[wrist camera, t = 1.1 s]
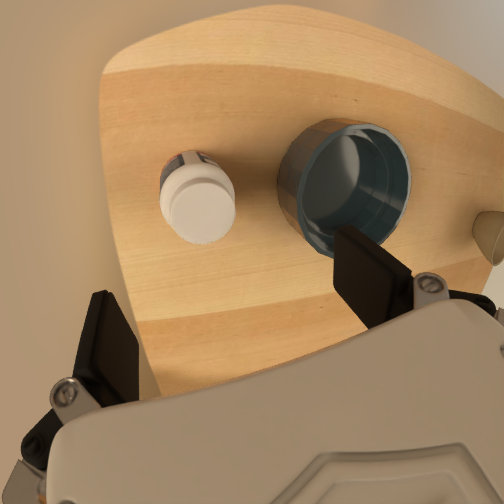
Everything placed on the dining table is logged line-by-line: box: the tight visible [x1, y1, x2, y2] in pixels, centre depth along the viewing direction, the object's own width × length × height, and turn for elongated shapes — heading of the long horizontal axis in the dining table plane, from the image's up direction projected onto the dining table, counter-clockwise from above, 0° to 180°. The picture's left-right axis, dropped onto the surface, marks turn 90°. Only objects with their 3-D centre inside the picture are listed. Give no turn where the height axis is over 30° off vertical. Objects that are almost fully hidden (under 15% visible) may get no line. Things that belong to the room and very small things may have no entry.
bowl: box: [277, 119, 411, 259], centre depth 26 cm, size 13×13×5 cm
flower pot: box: [472, 211, 504, 266], centre depth 38 cm, size 10×10×7 cm
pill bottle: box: [159, 151, 236, 244], centre depth 20 cm, size 5×5×9 cm
